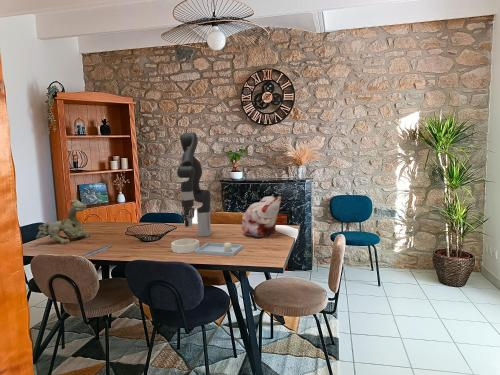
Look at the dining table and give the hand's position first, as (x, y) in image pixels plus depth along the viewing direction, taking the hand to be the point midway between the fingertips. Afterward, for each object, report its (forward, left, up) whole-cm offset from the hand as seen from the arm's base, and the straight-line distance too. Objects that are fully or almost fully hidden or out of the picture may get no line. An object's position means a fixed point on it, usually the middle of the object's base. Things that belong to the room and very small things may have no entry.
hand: (188, 225), depth 228 cm
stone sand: (+1, +26, -14) cm, 30 cm away
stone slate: (0, 0, 0) cm, 0 cm away
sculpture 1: (+1, -96, -15) cm, 98 cm away
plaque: (+21, -54, -16) cm, 60 cm away
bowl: (+3, -1, -15) cm, 15 cm away
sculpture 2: (-47, +35, -15) cm, 61 cm away
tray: (+1, +21, -15) cm, 25 cm away
